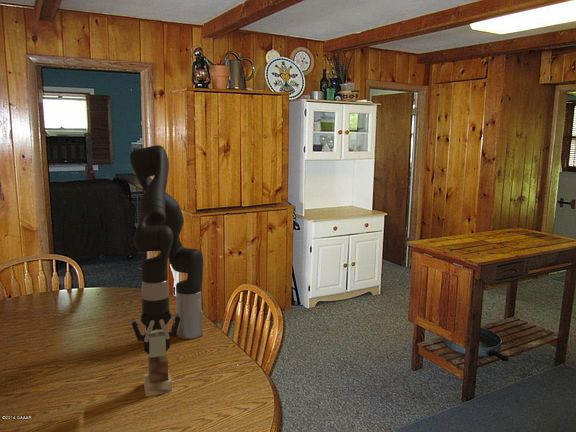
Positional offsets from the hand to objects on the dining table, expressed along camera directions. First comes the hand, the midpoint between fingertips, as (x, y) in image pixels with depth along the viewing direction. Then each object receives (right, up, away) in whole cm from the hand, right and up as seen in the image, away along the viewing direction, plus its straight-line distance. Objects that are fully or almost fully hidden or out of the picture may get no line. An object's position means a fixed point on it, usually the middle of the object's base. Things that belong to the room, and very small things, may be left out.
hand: (156, 351), depth 141 cm
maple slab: (0, -11, +2) cm, 11 cm away
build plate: (0, -12, +2) cm, 12 cm away
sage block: (0, -1, 0) cm, 1 cm away
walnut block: (0, -8, +1) cm, 8 cm away
